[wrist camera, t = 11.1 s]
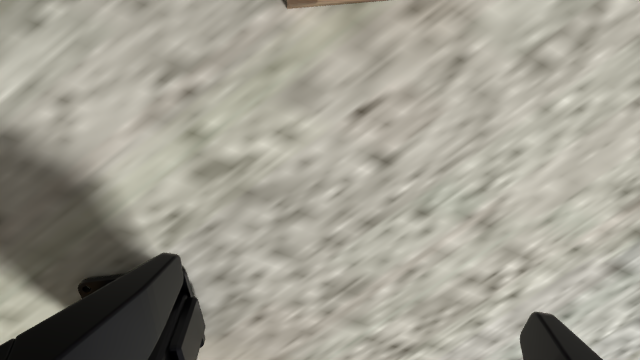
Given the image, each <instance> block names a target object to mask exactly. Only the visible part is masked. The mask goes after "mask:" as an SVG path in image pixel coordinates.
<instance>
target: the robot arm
mask: <svg viewBox="0 0 640 360" xmlns="http://www.w3.org/2000/svg"><path fill="white" fill-rule="evenodd" d="M86 286H88V287H90V288H88V287H86ZM78 291H79V293H80V295H81V298H82V299H81V300H79V301H78V302H76V303H74V304H72V305H71V306H69V307H67V308H65V309H63V310H62V311H60V312H58V313H56V314H55V315H53V316H51V317H49V318H48V319H46V320H44V321H42V322H41V323H39V324H37V325H35V326H34V327H32V328H30V329H28V330H27V331H25V332H23V333H21V334H20V335H18V336H17V337H16V339H14V338H13V339H11V340H9V341H7V342H5V343H4V344H2V345H0V360H197V356H198V352H199V349H200V348H201V347H202V346H203V345H204V342H205V335H204V330H205V323H204V320H203V316H202V312H201V309H200V305H199V302H198V299H197V298H196V297H195V296H193V293H192V290H191V286H190V283H189V279H188V276H187V273H186V271H185V270H183V269H182V265H181V259H180V257H179V255H177V254H171V253H162V254H160V255H158V256H156V257H155V258H153V259H151V260H149V261H148V262H146V263H144V264H142V265H141V266H139V267H137V268H135V269H134V270H132V271H130V272H128V273H127V274H123V275H114V276H105V277H97V278H88V279H84V280H83V281H82V282H81V283H80V284H79V286H78ZM520 345H521V350H522V355H523V360H603V359H601V358H600V357H599V356H598V355H597V354H596V353H595V352H594V351H593V350H592V349H590V348H589V347H588V346H587V345H586V344H585V343H584V342H583V341H582V340H580V339H579V338H578V337H577V336H576V335H575V334H574V333H573V332H572V331H571V330H569V329H568V328H567V327H566V326H565V325H564V324H563V323H562V322H561V321H559V320H558V319H557V318H556V317H555V316H554V315H552V314H548V313H542V312H533V313H532V314H531V315H530V317H529V319H528V321H527V323H526V324H525V326H524V328H523V330H522V332H521V335H520Z"/></svg>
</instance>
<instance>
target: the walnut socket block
mask: <svg viewBox="0 0 640 360" xmlns="http://www.w3.org/2000/svg"><path fill="white" fill-rule="evenodd" d="M286 1H287V9H291V8H302V7H314V6H326V5H338V4H350V3H362V2H374V1H386V0H286Z"/></svg>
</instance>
